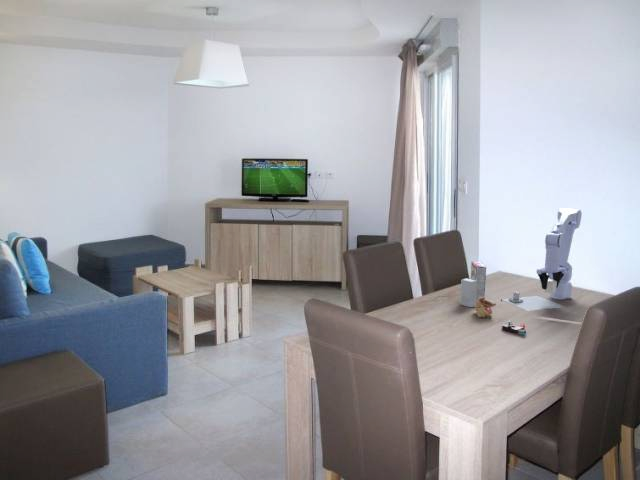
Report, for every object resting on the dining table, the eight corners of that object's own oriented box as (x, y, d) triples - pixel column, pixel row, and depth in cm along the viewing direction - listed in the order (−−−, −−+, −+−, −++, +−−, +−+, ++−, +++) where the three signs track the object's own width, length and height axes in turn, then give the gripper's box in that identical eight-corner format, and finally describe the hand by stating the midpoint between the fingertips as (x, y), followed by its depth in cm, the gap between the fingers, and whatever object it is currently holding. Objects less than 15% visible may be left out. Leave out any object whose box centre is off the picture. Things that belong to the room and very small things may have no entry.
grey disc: (517, 298, 291) (517, 290, 291) (525, 302, 285) (526, 294, 285) (505, 299, 289) (506, 291, 288) (514, 303, 283) (515, 295, 282)
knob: (543, 289, 285) (544, 278, 284) (556, 290, 283) (557, 279, 282) (542, 291, 280) (543, 281, 279) (555, 293, 278) (556, 282, 277)
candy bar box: (468, 293, 302) (471, 261, 299) (479, 294, 302) (481, 261, 299) (474, 300, 291) (476, 266, 288) (484, 300, 291) (486, 266, 288)
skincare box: (476, 306, 281) (478, 280, 279) (470, 307, 279) (472, 282, 276) (465, 303, 286) (467, 277, 284) (459, 304, 283) (460, 279, 281)
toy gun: (524, 338, 241) (525, 326, 240) (498, 330, 250) (499, 318, 249) (538, 333, 246) (539, 322, 246) (512, 325, 256) (513, 314, 255)
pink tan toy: (489, 322, 260) (473, 305, 261) (477, 326, 269) (462, 310, 270) (501, 308, 264) (486, 291, 264) (490, 312, 273) (475, 296, 274)
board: (537, 297, 297) (537, 295, 297) (565, 309, 279) (565, 306, 279) (500, 301, 290) (500, 299, 290) (526, 313, 272) (526, 310, 272)
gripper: (544, 262, 272) (542, 291, 275) (571, 260, 277) (568, 289, 280) (534, 258, 279) (532, 287, 282) (560, 257, 284) (557, 285, 286)
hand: (549, 288), depth 281 cm, fingers closed on knob, 6 cm apart
